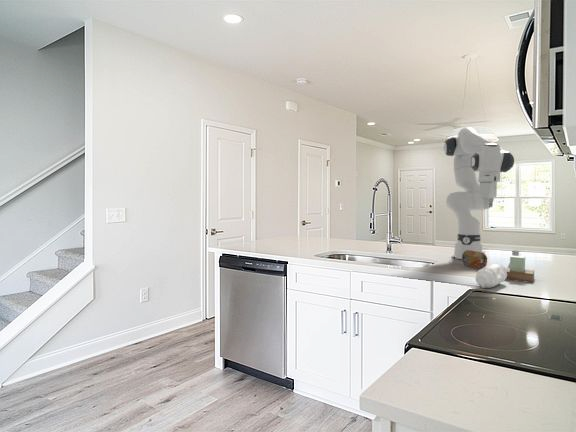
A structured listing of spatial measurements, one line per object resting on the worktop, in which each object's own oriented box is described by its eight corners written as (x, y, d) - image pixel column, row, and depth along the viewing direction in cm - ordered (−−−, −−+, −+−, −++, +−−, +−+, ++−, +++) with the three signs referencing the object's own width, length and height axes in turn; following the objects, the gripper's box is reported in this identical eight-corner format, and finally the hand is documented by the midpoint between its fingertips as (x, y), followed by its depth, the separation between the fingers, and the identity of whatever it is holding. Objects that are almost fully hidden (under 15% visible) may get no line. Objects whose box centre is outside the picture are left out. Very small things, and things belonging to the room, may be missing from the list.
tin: (461, 265, 199) (461, 249, 198) (466, 264, 200) (466, 248, 199) (482, 270, 184) (483, 253, 184) (488, 269, 185) (488, 252, 185)
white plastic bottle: (469, 289, 145) (469, 269, 145) (485, 281, 159) (485, 262, 158) (492, 292, 140) (492, 271, 139) (506, 284, 153) (507, 264, 153)
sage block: (511, 268, 167) (512, 255, 167) (524, 270, 164) (525, 256, 164) (509, 270, 163) (510, 256, 163) (523, 272, 160) (523, 258, 160)
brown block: (502, 276, 171) (502, 267, 171) (534, 279, 164) (534, 270, 164) (499, 280, 163) (500, 270, 163) (532, 283, 156) (533, 273, 156)
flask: (526, 273, 176) (527, 251, 175) (509, 272, 177) (510, 251, 177) (520, 270, 183) (520, 249, 183) (503, 269, 184) (504, 249, 184)
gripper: (486, 178, 187) (485, 206, 188) (477, 178, 170) (476, 208, 172) (500, 178, 183) (499, 206, 184) (493, 177, 167) (491, 209, 168)
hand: (488, 207), depth 178 cm, fingers open, 8 cm apart
